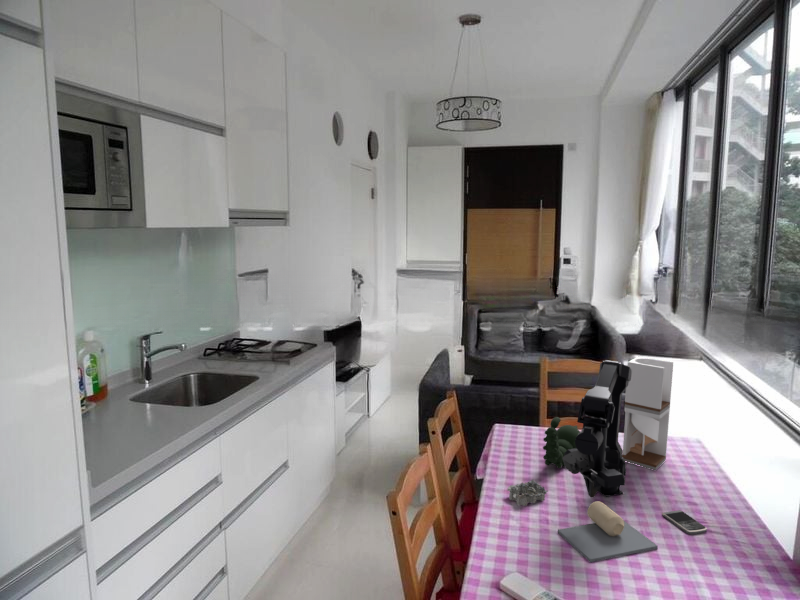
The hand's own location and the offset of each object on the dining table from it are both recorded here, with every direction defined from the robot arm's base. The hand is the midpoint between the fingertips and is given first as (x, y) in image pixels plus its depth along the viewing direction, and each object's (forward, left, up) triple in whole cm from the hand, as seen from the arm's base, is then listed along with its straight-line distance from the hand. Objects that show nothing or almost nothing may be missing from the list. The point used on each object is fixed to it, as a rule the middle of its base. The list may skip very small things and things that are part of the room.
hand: (591, 496), depth 155 cm
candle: (-3, -1, -5) cm, 6 cm away
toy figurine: (-17, -39, -9) cm, 43 cm away
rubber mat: (0, +7, -8) cm, 11 cm away
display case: (-44, -31, -9) cm, 54 cm away
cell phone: (-26, +6, -9) cm, 28 cm away
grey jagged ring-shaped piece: (+8, -19, -9) cm, 23 cm away
